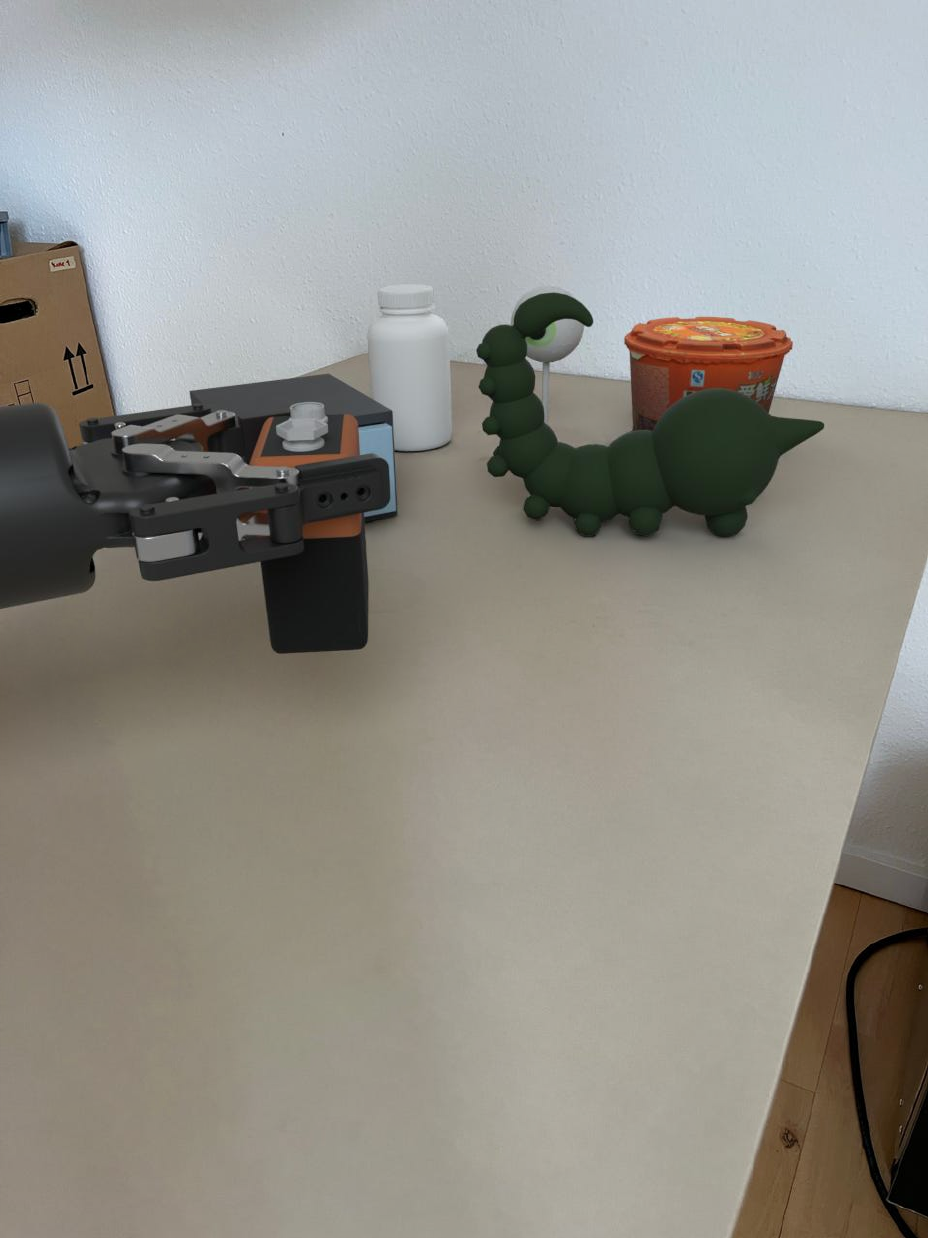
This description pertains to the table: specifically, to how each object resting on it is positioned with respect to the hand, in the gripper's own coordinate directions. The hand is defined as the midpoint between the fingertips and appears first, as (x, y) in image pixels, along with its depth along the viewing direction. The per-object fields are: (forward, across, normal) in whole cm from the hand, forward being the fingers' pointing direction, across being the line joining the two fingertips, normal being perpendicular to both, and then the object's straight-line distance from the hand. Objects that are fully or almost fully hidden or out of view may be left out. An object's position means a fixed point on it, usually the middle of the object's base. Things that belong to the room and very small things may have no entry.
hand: (349, 452), depth 42 cm
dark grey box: (+8, -36, -16) cm, 40 cm away
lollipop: (+36, -41, -16) cm, 57 cm away
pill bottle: (+24, -47, -16) cm, 55 cm away
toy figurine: (+30, -17, -16) cm, 38 cm away
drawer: (+8, -32, -15) cm, 36 cm away
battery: (-2, 0, -8) cm, 8 cm away
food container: (+50, -34, -16) cm, 63 cm away
